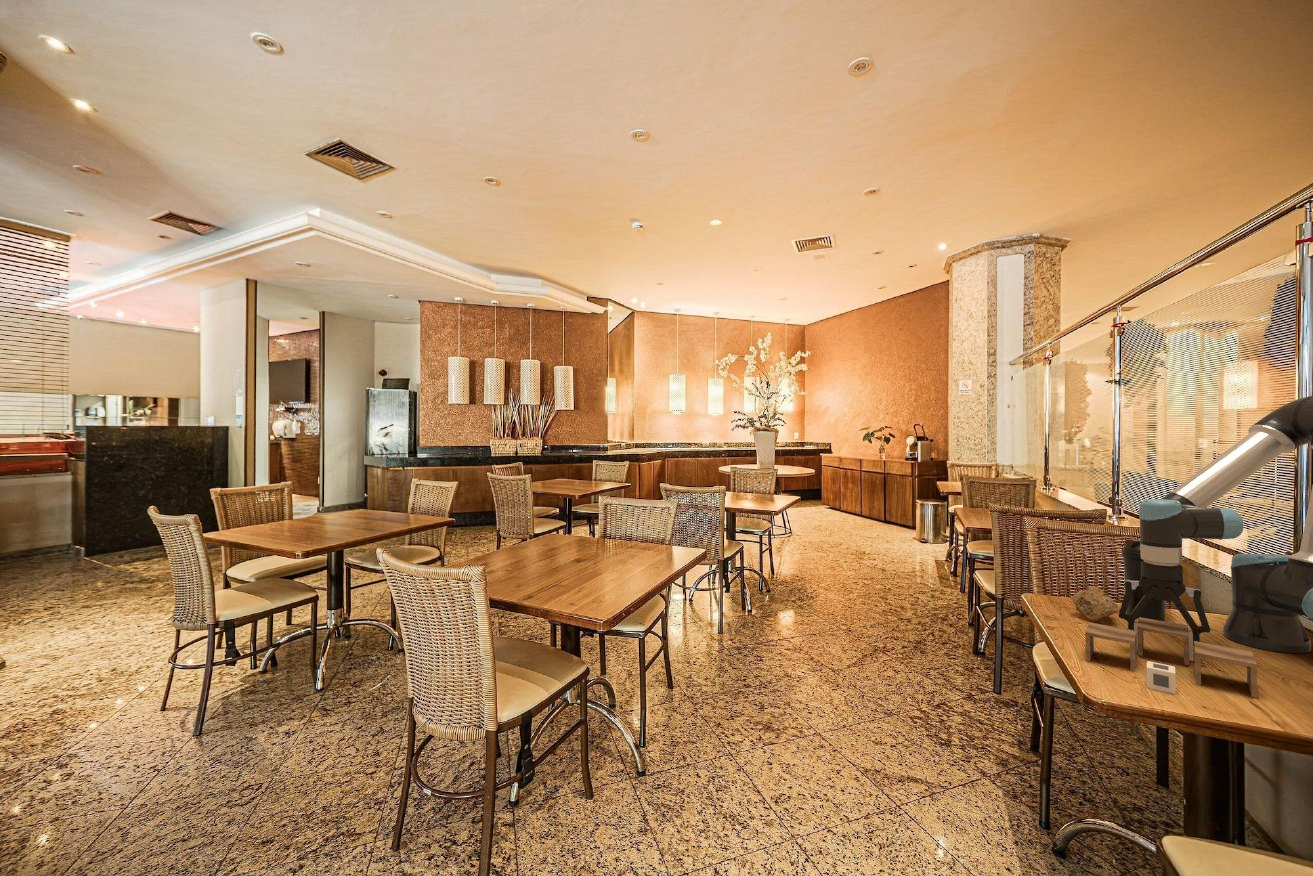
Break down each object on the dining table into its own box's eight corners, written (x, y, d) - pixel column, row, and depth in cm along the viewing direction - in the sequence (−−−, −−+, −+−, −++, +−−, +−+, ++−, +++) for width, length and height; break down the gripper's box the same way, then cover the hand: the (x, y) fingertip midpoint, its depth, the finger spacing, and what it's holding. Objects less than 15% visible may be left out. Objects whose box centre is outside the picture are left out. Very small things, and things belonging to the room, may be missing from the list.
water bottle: (1178, 623, 154) (1176, 544, 154) (1137, 621, 156) (1135, 543, 156) (1153, 612, 164) (1151, 537, 164) (1115, 610, 166) (1113, 537, 166)
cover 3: (1194, 671, 124) (1194, 640, 124) (1252, 682, 117) (1251, 651, 117) (1195, 684, 117) (1195, 652, 117) (1257, 697, 111) (1256, 664, 111)
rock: (1066, 614, 164) (1066, 581, 164) (1098, 612, 165) (1097, 580, 165) (1101, 627, 152) (1101, 592, 152) (1135, 626, 153) (1134, 591, 153)
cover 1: (1089, 649, 137) (1089, 622, 137) (1136, 659, 131) (1136, 630, 131) (1085, 660, 130) (1085, 632, 130) (1135, 671, 124) (1134, 641, 124)
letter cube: (1147, 681, 120) (1147, 660, 120) (1175, 687, 116) (1175, 666, 116) (1147, 688, 116) (1146, 667, 116) (1175, 694, 113) (1175, 673, 113)
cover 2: (1139, 644, 138) (1138, 617, 138) (1188, 653, 132) (1187, 625, 132) (1137, 654, 132) (1137, 626, 132) (1189, 665, 125) (1188, 635, 125)
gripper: (1224, 566, 127) (1226, 660, 127) (1105, 553, 142) (1107, 638, 142) (1226, 572, 121) (1228, 670, 121) (1102, 558, 137) (1104, 646, 137)
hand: (1163, 653), depth 132 cm, fingers closed on cover 2, 9 cm apart
